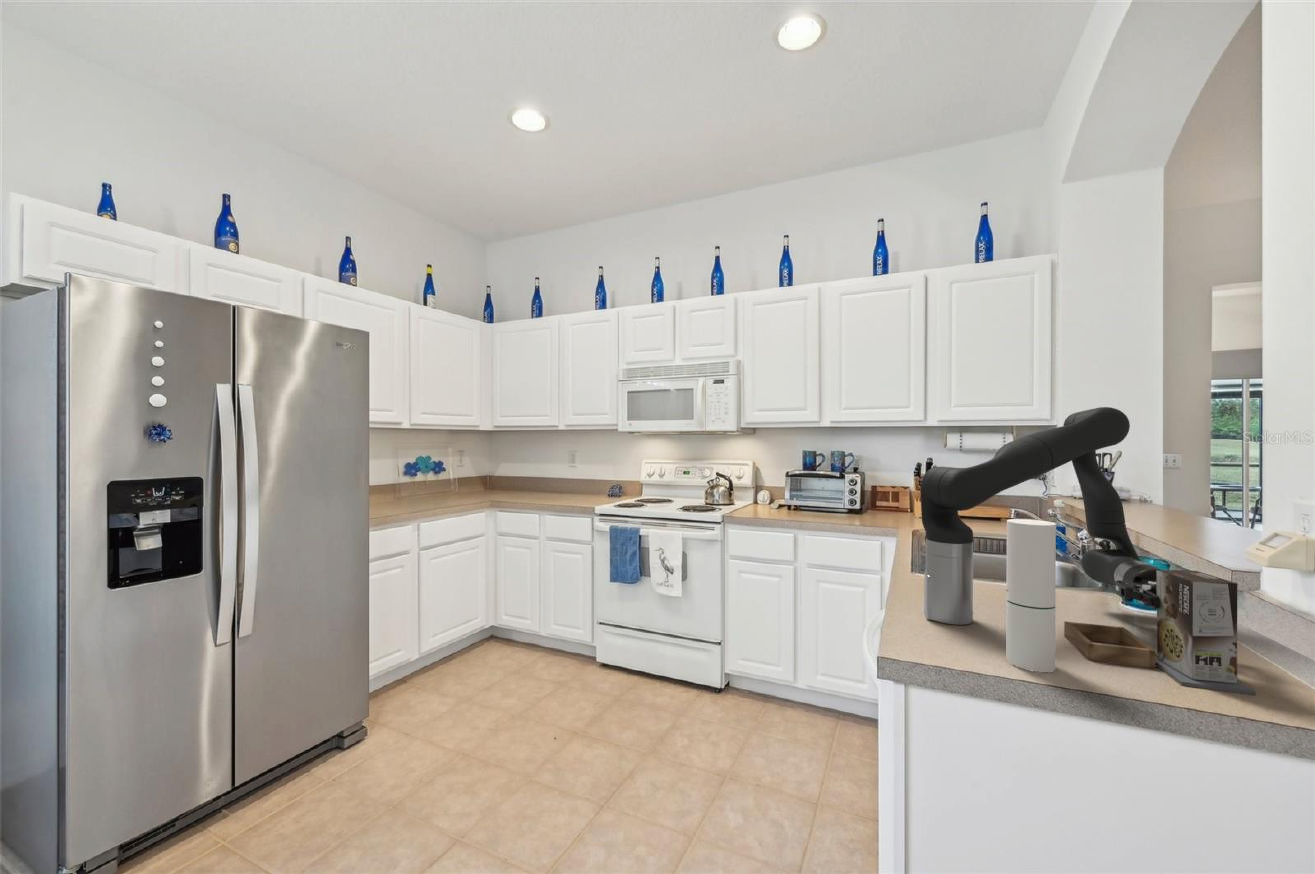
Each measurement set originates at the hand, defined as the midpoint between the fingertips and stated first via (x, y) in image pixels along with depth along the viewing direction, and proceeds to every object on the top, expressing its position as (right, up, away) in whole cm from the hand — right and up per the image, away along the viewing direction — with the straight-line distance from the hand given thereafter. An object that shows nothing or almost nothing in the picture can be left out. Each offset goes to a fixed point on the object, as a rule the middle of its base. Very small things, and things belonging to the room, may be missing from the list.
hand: (1188, 606), depth 94 cm
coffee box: (-1, -10, -2) cm, 11 cm away
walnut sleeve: (-8, -11, +8) cm, 15 cm away
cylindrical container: (-26, -11, +2) cm, 28 cm away
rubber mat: (-1, -11, -2) cm, 11 cm away
